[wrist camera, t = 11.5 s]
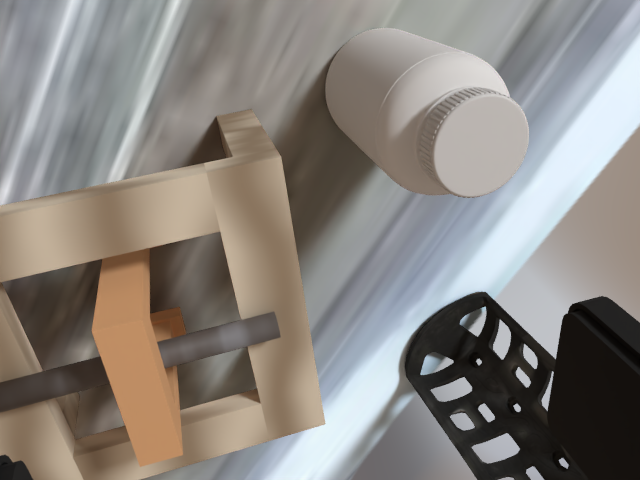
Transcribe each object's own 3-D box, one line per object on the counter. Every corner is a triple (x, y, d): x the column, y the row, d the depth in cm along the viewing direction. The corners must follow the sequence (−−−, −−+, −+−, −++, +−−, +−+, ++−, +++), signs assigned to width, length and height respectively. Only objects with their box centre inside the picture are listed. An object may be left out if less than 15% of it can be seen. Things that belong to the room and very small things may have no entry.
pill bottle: (393, -1, 39) (519, 29, 26) (446, 94, 43) (576, 162, 30) (299, 73, 39) (375, 139, 26) (360, 160, 43) (451, 254, 30)
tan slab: (131, 341, 43) (126, 473, 32) (94, 224, 39) (73, 332, 28) (185, 328, 44) (198, 453, 33) (155, 212, 39) (157, 312, 28)
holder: (459, 275, 50) (637, 458, 34) (511, 299, 54) (692, 474, 38) (387, 369, 53) (519, 579, 37) (442, 386, 57) (583, 581, 41)
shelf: (48, 405, 46) (21, 535, 36) (-65, 171, 36) (-145, 260, 26) (293, 339, 49) (331, 441, 39) (251, 109, 39) (287, 166, 29)
